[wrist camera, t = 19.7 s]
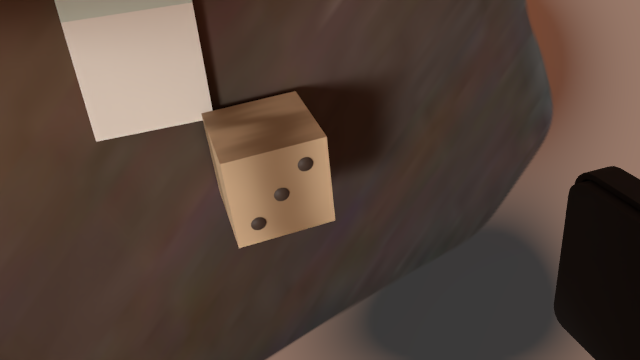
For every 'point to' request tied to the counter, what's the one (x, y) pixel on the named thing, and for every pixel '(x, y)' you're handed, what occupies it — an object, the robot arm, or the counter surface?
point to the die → (270, 167)
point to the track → (136, 63)
